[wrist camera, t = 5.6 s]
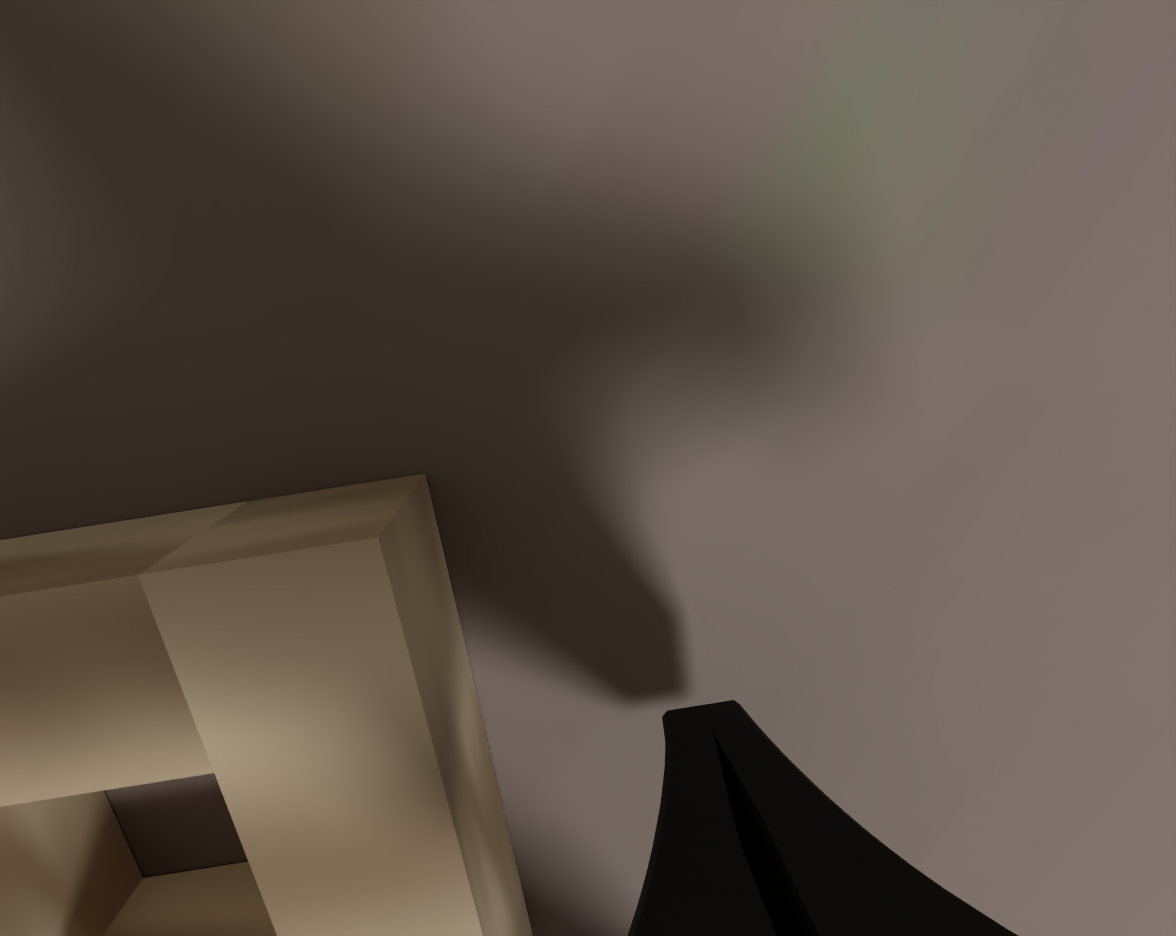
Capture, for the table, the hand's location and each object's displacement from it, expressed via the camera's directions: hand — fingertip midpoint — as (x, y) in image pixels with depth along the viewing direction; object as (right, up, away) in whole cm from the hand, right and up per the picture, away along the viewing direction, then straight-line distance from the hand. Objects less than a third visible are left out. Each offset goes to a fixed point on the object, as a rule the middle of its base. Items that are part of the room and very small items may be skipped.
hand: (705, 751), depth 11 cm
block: (-10, -1, +1) cm, 10 cm away
